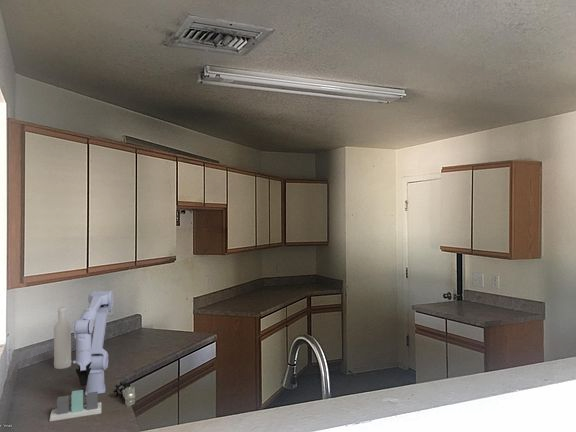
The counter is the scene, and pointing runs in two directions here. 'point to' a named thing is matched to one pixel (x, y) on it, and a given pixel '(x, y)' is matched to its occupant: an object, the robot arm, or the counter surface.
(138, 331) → the counter surface
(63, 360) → the bottle
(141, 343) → the counter surface
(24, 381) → the counter surface
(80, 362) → the robot arm
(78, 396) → the block
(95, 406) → the rail plate
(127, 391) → the valve
